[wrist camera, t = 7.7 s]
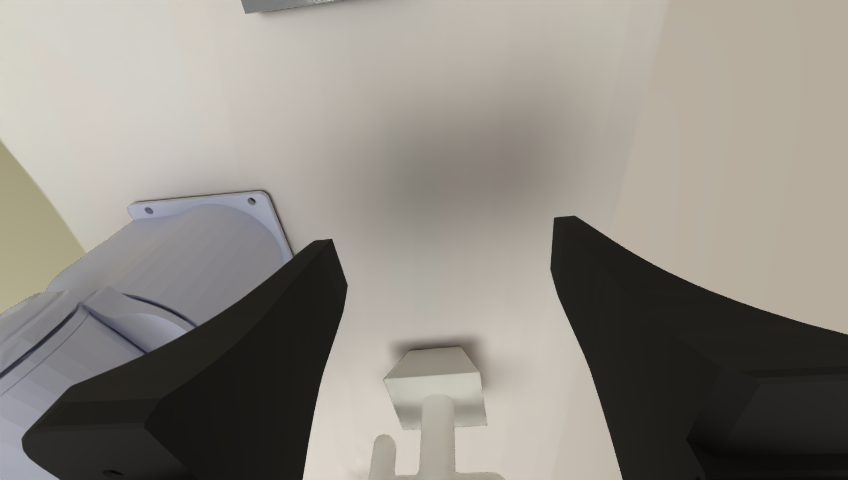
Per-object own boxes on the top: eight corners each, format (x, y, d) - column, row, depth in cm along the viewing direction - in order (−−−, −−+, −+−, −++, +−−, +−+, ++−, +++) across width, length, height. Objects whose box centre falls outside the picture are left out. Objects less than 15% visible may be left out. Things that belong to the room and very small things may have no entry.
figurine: (376, 341, 30) (330, 583, 18) (489, 331, 29) (525, 584, 16) (395, 392, 34) (368, 619, 21) (495, 385, 33) (528, 622, 20)
